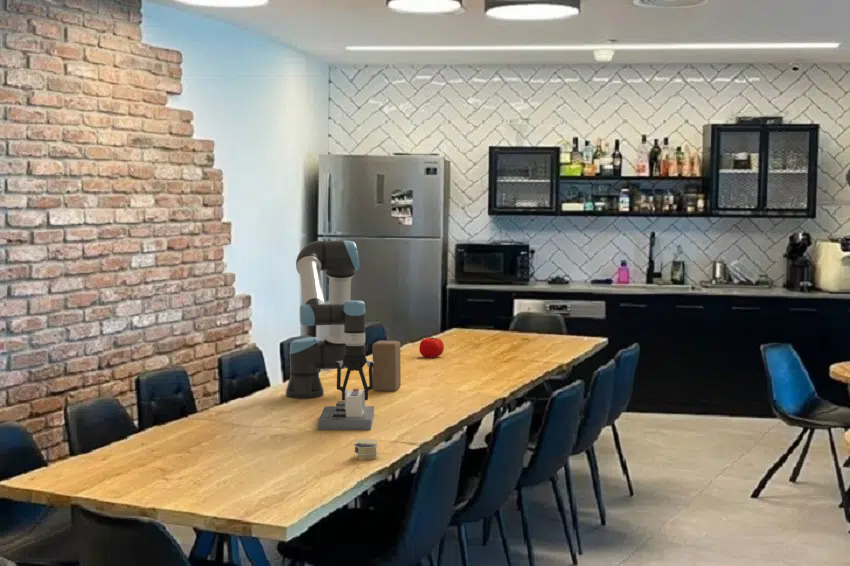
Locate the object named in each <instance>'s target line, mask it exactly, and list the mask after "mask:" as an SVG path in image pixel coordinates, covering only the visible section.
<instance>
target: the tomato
mask: <svg viewBox="0 0 850 566" xmlns="http://www.w3.org/2000/svg"><path fill="white" fill-rule="evenodd" d="M418 348H419V353H420V354H421V356H422V357H424V358H437V357H440V356H441V355H442V354H443V353H444V349H445V344H444V341H443V340H442V339H441V338H438V337H426V338H423V339H422V340H421V341H420V343H419V347H418Z"/></svg>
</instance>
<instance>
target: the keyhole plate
mask: <svg viewBox="0 0 850 566" xmlns="http://www.w3.org/2000/svg"><path fill="white" fill-rule="evenodd" d="M374 418H375V406H374V405H365V410H364V411H363V414H362V417H346V410H345V406H336V405H335V406H334V405H333V406H332V405H329V406H328V405H327V406H326V405H325V406H324V408H323V409H322V412H321V414H320V415H319V417H318V420H317V421H318V427H317V428H318V431H351V430H352V431H357V430H358V431H359V430H360V431H371V430H372V426H373V422H374Z"/></svg>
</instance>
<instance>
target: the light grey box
mask: <svg viewBox="0 0 850 566" xmlns="http://www.w3.org/2000/svg"><path fill="white" fill-rule="evenodd" d="M363 390H364V389H360V387H353V388H352V389H348V393H347V395H346V417H362V414H363V411H364V410H363V394H362V392H363Z"/></svg>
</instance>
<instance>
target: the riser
mask: <svg viewBox="0 0 850 566" xmlns="http://www.w3.org/2000/svg"><path fill="white" fill-rule="evenodd" d="M335 406H345V400H337V401H336V404H335Z"/></svg>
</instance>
